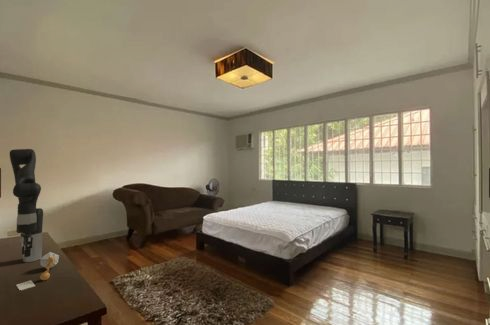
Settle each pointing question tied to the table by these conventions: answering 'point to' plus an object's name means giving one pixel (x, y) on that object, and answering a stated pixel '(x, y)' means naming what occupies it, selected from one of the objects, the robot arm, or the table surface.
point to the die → (45, 259)
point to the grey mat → (25, 285)
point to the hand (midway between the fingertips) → (26, 255)
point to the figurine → (46, 275)
